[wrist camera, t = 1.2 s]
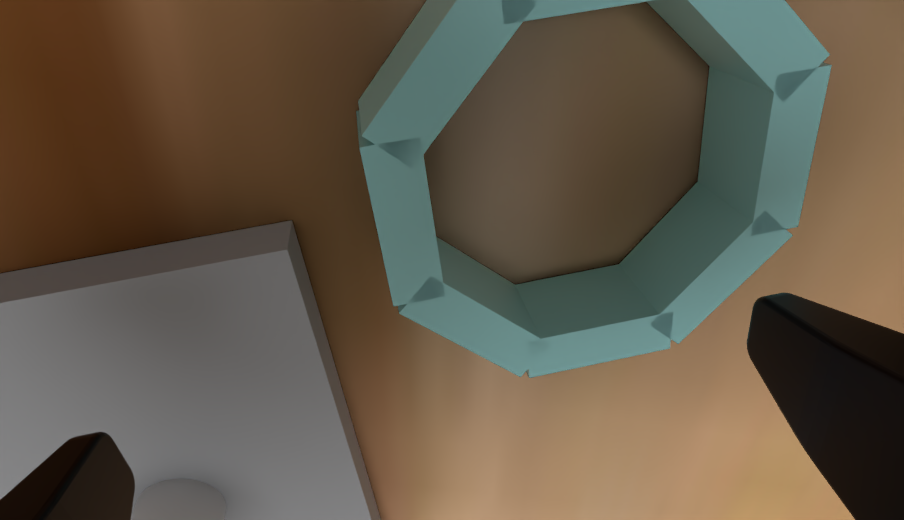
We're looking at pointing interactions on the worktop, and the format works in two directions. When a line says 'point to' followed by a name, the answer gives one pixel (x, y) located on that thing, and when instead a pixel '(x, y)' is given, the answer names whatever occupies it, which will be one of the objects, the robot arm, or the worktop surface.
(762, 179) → the teal ring
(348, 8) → the worktop surface
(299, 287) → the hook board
